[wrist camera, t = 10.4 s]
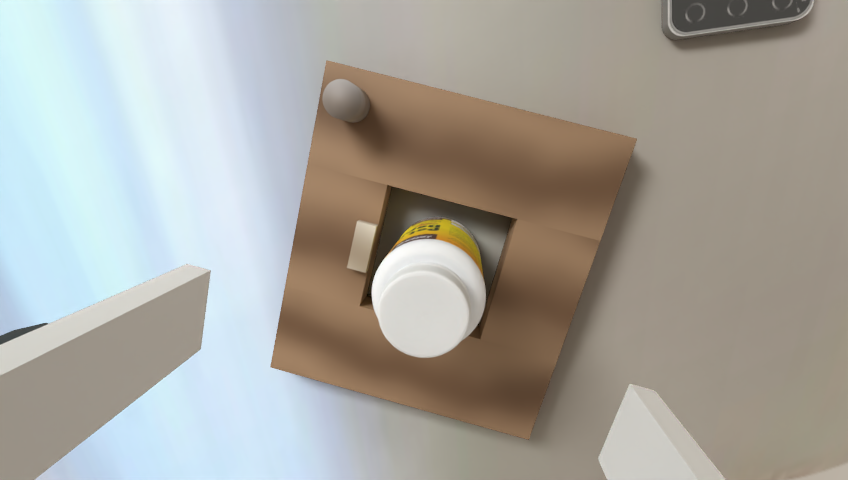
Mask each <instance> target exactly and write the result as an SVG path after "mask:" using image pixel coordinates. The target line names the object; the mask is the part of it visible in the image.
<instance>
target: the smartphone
mask: <svg viewBox="0 0 848 480" xmlns="http://www.w3.org/2000/svg"><path fill="white" fill-rule="evenodd" d="M813 4H814V0H662V31H663V33H664V34H665V36H666V37H668V38H669V39H672V40H679V39H686V38H693V37H701V36H708V35H715V34H722V33H729V32H736V31H743V30H750V29H757V28H764V27H771V26H779V25H785V24H789V23H791V22H794V21H796V20H799V19H801V18H803V17H805V16H806V15H807V14H808V13H809V12H810V10H811V9H812V7H813Z"/></svg>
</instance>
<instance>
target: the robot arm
mask: <svg viewBox="0 0 848 480" xmlns="http://www.w3.org/2000/svg"><path fill="white" fill-rule="evenodd" d="M210 272H211V270H207V269H204V268H200V267H196V266H193V265H189V264H186V265H183V266H181V267H179V268H176V269H174V270H172V271H170V272H167V273H165V274H163V275H160V276H158V277H156V278H153V279H151V280H149V281H146V282H144V283H142V284H140V285H137V286H135V287H133V288H130V289H128V290H126V291H123V292H121V293H119V294H116V295H114V296H112V297H110V298H107V299H105V300H103V301H100V302H98V303H96V304H93V305H91V306H89V307H86V308H84V309H82V310H79V311H77V312H75V313H73V314H70V315H68V316H66V317H63V318H61V319H59V320H56V321H54V322H52V323H49V324H48V323H43V324H39V325H35V326H30V327H26V328H22V329H17V330H13V331H11V332H9V333H6V334H4V335H1V336H0V480H34V479H36V478H37V477H38V476H40V475H41V474H42V473H43V472H45V471H46V470H47V469H48V468H50V467H51V466H52V465H54V464H55V463H56V462H57V461H59V460H60V459H61V458H62V457H64V456H65V455H66V454H68V453H69V452H70V451H71V450H73V449H74V448H75V447H77V446H78V445H79V444H80V443H82V442H83V441H84V440H85V439H87V438H88V437H89V436H91V435H92V434H93V433H94V432H96V431H97V430H98V429H99V428H101V427H102V426H103V425H105V424H106V423H107V422H108V421H110V420H111V419H112V418H113V417H115V416H116V415H117V414H119V413H120V412H121V411H122V410H124V409H125V408H126V407H128V406H129V405H130V404H131V403H133V402H134V401H135V400H136V399H138V398H139V397H140V396H142V395H143V394H144V393H145V392H147V391H148V390H149V389H150V388H152V387H153V386H154V385H156V384H157V383H158V382H159V381H161V380H162V379H163V378H164V377H166V376H167V375H168V374H170V373H171V372H172V371H173V370H175V369H176V368H177V367H179V366H180V365H181V364H182V363H184V362H185V361H186V360H187V359H189V358H190V357H191V356H193V355H194V354H195V353H196V352H198V351H199V350H200V349H201V343H202V335H203V327H204V319H205V311H206V303H207V295H208V287H209V279H210ZM598 460H599V462H600V465H601V467H602V469H603V471H604V474H605V476H606V478H607V480H726V479H725V478H724V477H723V475H722V474H721V473H720V472H719V470H718V469H717V468H716V467H715V465H714V464H713V463H712V462H711V460H710V459H709V458H708V457H707V455H706V454H705V453H704V452H703V450H702V449H701V448H700V447H699V445H698V444H697V443H696V442H695V440H694V439H693V438H692V437H691V435H690V434H689V433H688V431H687V430H686V429H685V428H684V426H683V425H682V424H681V423H680V421H679V420H678V419H677V418H676V416H675V415H674V414H673V413H672V411H671V410H670V409H669V408H668V406H667V405H666V404H665V403H664V401H663V400H662V399H661V398H660V396H659V395H658V394H657V393H656V391H655V390H651V389H647V388H644V387H640V386H636V385H633V384H629V387H628V389H627V391H626V394H625V396H624V398H623V401H622V403H621V405H620V408H619V410H618V413H617V415H616V417H615V420H614V422H613V424H612V427H611V429H610V431H609V434H608V436H607V438H606V441H605V443H604V446H603V448H602V450H601V453H600V455H599V457H598Z"/></svg>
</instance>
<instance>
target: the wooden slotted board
mask: <svg viewBox="0 0 848 480" xmlns="http://www.w3.org/2000/svg"><path fill="white" fill-rule="evenodd" d="M636 141H637V139H635V138H632V137H628V136H624V135H620V134H616V133H612V132H608V131H604V130H600V129H596V128H592V127H588V126H584V125H580V124H576V123H572V122H568V121H564V120H560V119H556V118H552V117H549V116H545V115H541V114H537V113H533V112H529V111H525V110H521V109H517V108H513V107H509V106H505V105H501V104H497V103H493V102H489V101H485V100H481V99H477V98H473V97H469V96H465V95H462V94H458V93H454V92H450V91H446V90H442V89H438V88H434V87H430V86H426V85H422V84H418V83H414V82H410V81H406V80H402V79H398V78H394V77H390V76H386V75H382V74H379V73H375V72H371V71H367V70H363V69H359V68H355V67H351V66H347V65H343V64H339V63H335V62H331V61H326V66H325V72H324V77H323V83H322V88H321V93H320V99H319V104H318V110H317V115H316V121H315V126H314V132H313V137H312V143H311V148H310V154H309V159H308V165H307V170H306V176H305V181H304V186H303V192H302V197H301V203H300V208H299V214H298V219H297V225H296V230H295V236H294V241H293V247H292V252H291V258H290V263H289V269H288V274H287V279H286V285H285V290H284V296H283V301H282V307H281V312H280V318H279V323H278V329H277V334H276V340H275V345H274V351H273V356H272V362H271V367H272V368H275V369H279V370H282V371H286V372H289V373H293V374H296V375H300V376H304V377H307V378H311V379H314V380H318V381H321V382H325V383H328V384H332V385H336V386H339V387H343V388H346V389H350V390H353V391H357V392H360V393H364V394H368V395H371V396H375V397H378V398H382V399H385V400H389V401H392V402H396V403H400V404H403V405H407V406H410V407H414V408H417V409H421V410H424V411H428V412H432V413H435V414H439V415H442V416H446V417H449V418H453V419H456V420H460V421H464V422H467V423H471V424H474V425H478V426H481V427H485V428H488V429H492V430H496V431H499V432H503V433H506V434H510V435H513V436H517V437H520V438H524V439H528V440H529V438H530V435H531V432H532V429H533V427H534V424H535V421H536V418H537V415H538V413H539V410H540V407H541V404H542V402H543V399H544V396H545V393H546V390H547V388H548V385H549V382H550V379H551V377H552V374H553V371H554V368H555V365H556V363H557V360H558V357H559V354H560V352H561V349H562V346H563V343H564V340H565V338H566V335H567V332H568V329H569V327H570V324H571V321H572V318H573V316H574V313H575V310H576V307H577V304H578V302H579V299H580V296H581V293H582V291H583V288H584V285H585V282H586V279H587V277H588V274H589V271H590V268H591V266H592V263H593V260H594V257H595V254H596V252H597V249H598V246H599V243H600V241H601V238H602V235H603V232H604V229H605V227H606V224H607V221H608V218H609V216H610V213H611V210H612V207H613V204H614V202H615V199H616V196H617V193H618V191H619V188H620V185H621V182H622V179H623V177H624V174H625V171H626V168H627V166H628V163H629V160H630V157H631V155H632V152H633V149H634V146H635V143H636ZM392 186H393V187H397V188H401V189H404V190H408V191H412V192H416V193H420V194H424V195H427V196H431V197H435V198H439V199H443V200H446V201H450V202H454V203H458V204H462V205H465V206H469V207H473V208H477V209H481V210H484V211H488V212H492V213H496V214H500V215H504V216H507V217H511V218H512V220H511V224H510V227H509V230H508V233H507V237H506V240H505V243H504V247H503V250H502V253H501V256H500V260H499V263H498V266H497V269H496V273H495V276H494V279H493V283H492V286H491V289H490V292H489V296H488V299H487V302H486V306H485V309H484V312H483V315H482V319H481V322H480V325H479V326H476V328H475V329H474V330H473V331H472V333H471V334H470V335H468V336H467V337H466V338H465V339H464V340H462V341H461V342H460V343H459V344H458V345H457V346H456V347H455V348H454V349H452V350H450V351H449V352H447V353H445V354H443V355H440V356H437V357H430V358H419V357H414V356H410V355H407V354H405V353H403V352H401V351H399V350H398V349H397V348H395V347H394V346H393V345H392V344H391V343H390V342H389V341H388V340H387V339H386V337H385V336H384V334H383V332H382V330H381V328H380V325H379V321H378V318H377V316H376V313H375V311H374V308H373V303H372V297H369V296H367V292H368V288H369V283H370V279H371V275H372V271H373V266H374V262H375V258H376V253H377V249H378V245H379V240H380V236H381V232H382V228H383V223H384V219H385V215H386V210H387V206H388V202H389V197H390V193H391V189H392Z"/></svg>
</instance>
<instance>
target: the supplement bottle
mask: <svg viewBox="0 0 848 480" xmlns="http://www.w3.org/2000/svg"><path fill="white" fill-rule="evenodd" d="M485 302H486V289H485V282H484V277H483V270H482V264H481V257H480V251H479V247H478V244H477V242H476V240H475V238H474V237H473V235H472V234H471V233H470V231H469V230H468V229H467V228H466V227H464V226H463V225H462V224H460V223H458V222H457V221H454V220H452V219H449V218H444V217H430V218H426V219H423V220H420V221H418V222H416V223H415V224H413V225H412V226H410V227H409V228H408V229H407V230H406V231H405V232H404V233H403V235H402V236H401V237H400V239H399V240H398V241H397V242H396V244H395V245H394V246H393V248H392V249H391V250H390V252H389V253H388V254H387V256H386V257H385V258H384V260H383V261H382V263H381V264H380V266H379V267H378V269H377V271H376V274H375V276H374V280H373V284H372V303H373V308H374V311H375V313H376V316H377V318H378V321H379V325H380V328H381V330H382V332H383V334H384V336H385V337H386V339H387V340H388V341H389V342H390V343H391V344H392V345H393V346H394V347H395V348H397V349H398V350H399V351H401V352H403V353H405V354H407V355H410V356H414V357H419V358H430V357H437V356H440V355H443V354H445V353H447V352H449V351H450V350H452V349H454V348H455V347H456V346H457V345H458V344H459V343H460V342H461V341H462V340H464V339H465V338H466V337H467V336H468V335H470V334H471V333H472V331H473V330H474V329H475V328H476V326H477V325H478V323H479V321H480V319H481V317H482V315H483V312H484V308H485Z"/></svg>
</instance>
